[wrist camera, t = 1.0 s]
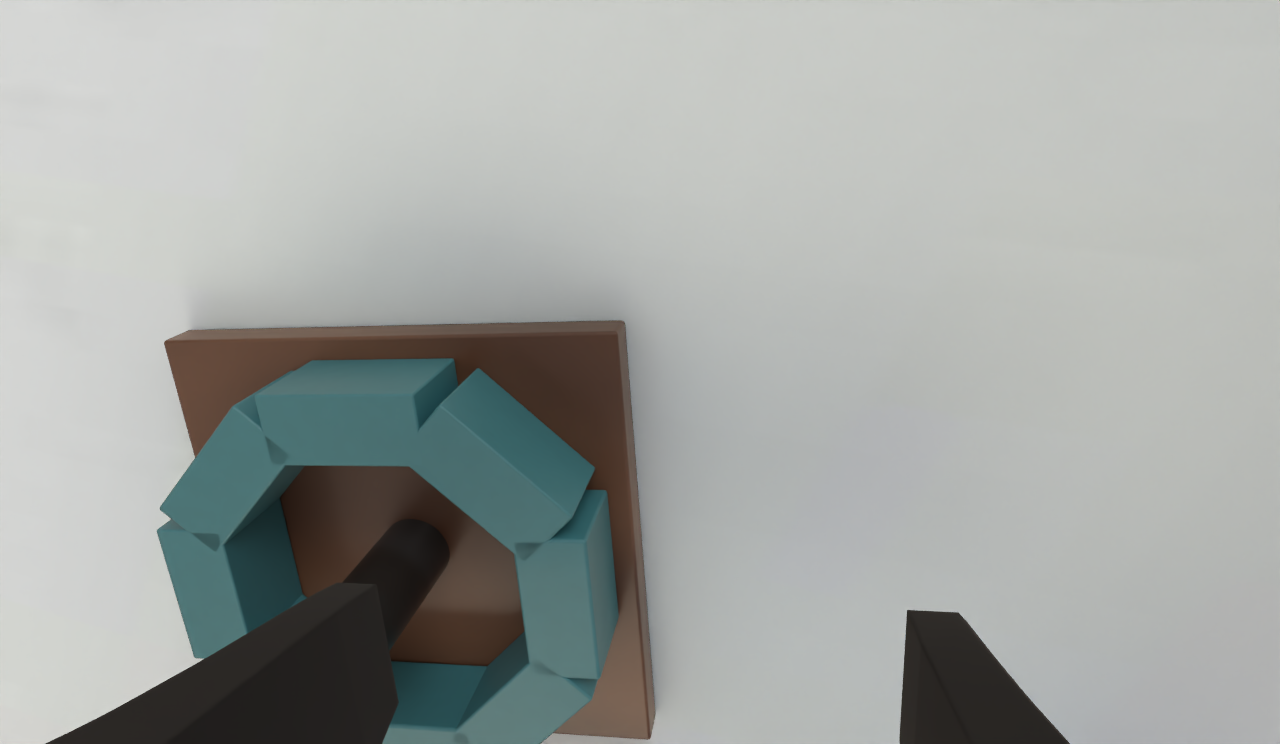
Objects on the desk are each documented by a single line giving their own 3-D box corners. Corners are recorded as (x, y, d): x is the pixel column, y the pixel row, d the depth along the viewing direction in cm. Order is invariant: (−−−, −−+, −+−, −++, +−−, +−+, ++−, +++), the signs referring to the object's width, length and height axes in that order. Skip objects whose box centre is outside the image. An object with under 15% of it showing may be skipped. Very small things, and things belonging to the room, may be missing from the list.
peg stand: (655, 714, 23) (624, 874, 19) (283, 691, 25) (170, 830, 21) (625, 319, 20) (576, 396, 15) (188, 329, 22) (25, 399, 17)
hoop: (629, 723, 22) (612, 795, 20) (276, 700, 24) (225, 765, 22) (595, 355, 19) (570, 392, 17) (186, 361, 21) (115, 396, 18)
